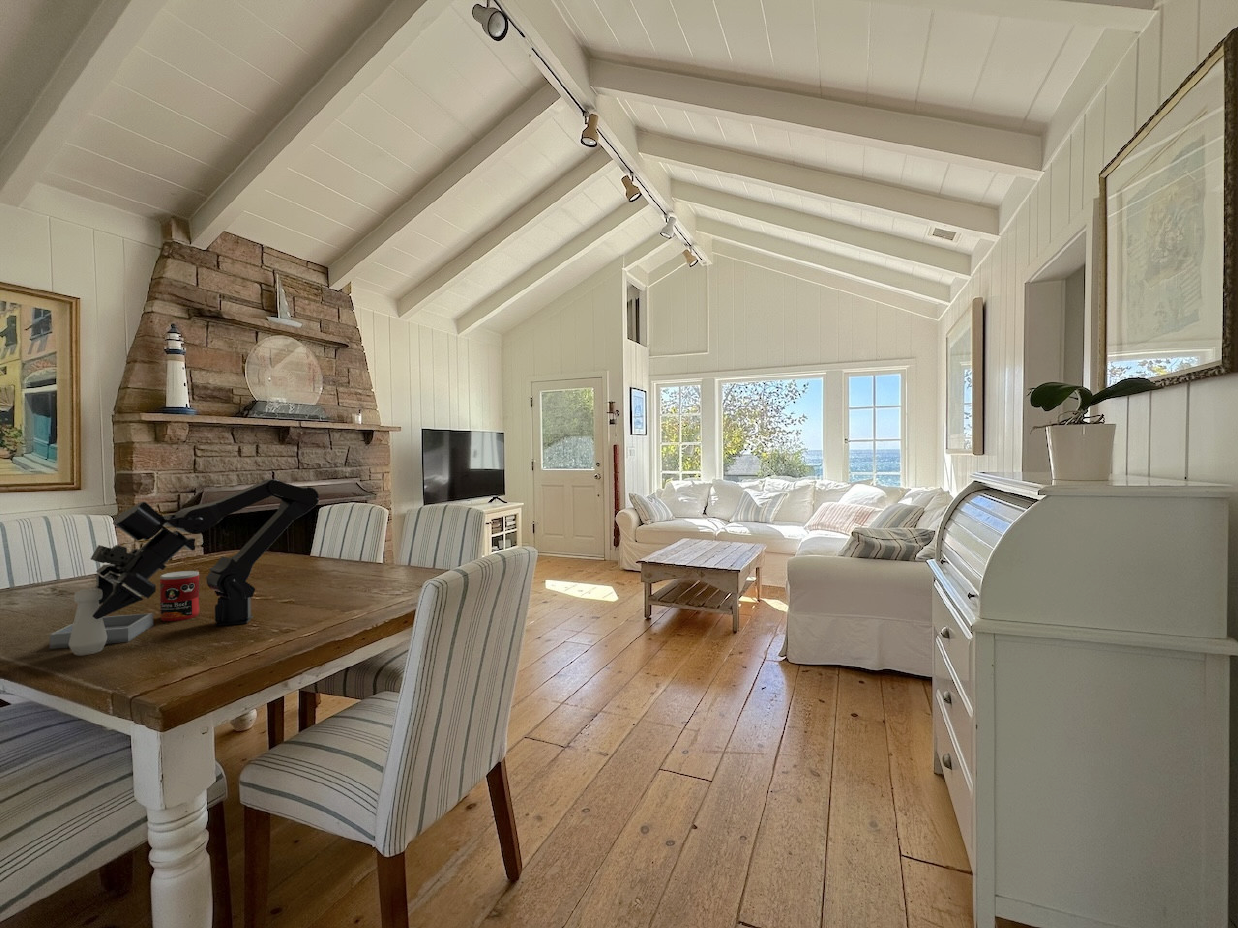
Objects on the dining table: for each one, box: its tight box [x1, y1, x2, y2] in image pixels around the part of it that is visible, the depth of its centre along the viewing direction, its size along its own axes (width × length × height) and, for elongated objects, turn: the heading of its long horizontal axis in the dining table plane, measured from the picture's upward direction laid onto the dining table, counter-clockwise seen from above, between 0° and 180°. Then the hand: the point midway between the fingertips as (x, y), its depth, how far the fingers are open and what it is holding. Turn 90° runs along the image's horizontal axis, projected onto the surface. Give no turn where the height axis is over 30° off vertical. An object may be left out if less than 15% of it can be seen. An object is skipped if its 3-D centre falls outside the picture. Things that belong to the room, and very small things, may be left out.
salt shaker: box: [68, 587, 107, 657], centre depth 116 cm, size 6×6×13 cm
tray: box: [49, 612, 154, 650], centre depth 126 cm, size 13×13×3 cm
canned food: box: [159, 570, 200, 622], centre depth 142 cm, size 8×8×11 cm
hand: (88, 614), depth 116 cm, fingers open, 9 cm apart
